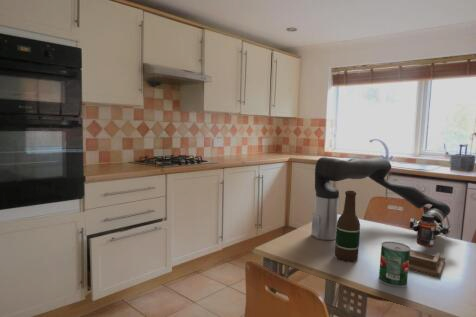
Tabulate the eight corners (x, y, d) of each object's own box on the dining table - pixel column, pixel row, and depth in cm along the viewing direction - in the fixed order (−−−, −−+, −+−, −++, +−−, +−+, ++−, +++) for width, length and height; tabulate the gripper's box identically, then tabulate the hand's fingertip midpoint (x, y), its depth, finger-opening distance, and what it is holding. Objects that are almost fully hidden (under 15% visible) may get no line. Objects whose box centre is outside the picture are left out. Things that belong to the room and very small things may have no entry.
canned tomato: (374, 274, 105) (377, 240, 104) (399, 275, 104) (402, 241, 103) (384, 286, 97) (388, 250, 96) (412, 287, 97) (415, 251, 95)
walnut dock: (439, 277, 104) (440, 265, 103) (391, 265, 112) (392, 253, 112) (444, 262, 116) (445, 251, 116) (401, 251, 125) (402, 241, 124)
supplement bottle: (437, 248, 121) (440, 218, 120) (419, 246, 122) (422, 217, 121) (430, 242, 127) (433, 214, 125) (414, 241, 128) (416, 212, 127)
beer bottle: (357, 255, 119) (362, 190, 117) (357, 264, 112) (363, 194, 110) (335, 252, 122) (339, 188, 119) (334, 260, 115) (338, 192, 112)
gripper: (413, 208, 139) (405, 217, 126) (453, 215, 130) (449, 225, 117) (411, 226, 140) (403, 236, 126) (452, 233, 131) (447, 245, 118)
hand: (425, 230), depth 122 cm, fingers closed on supplement bottle, 6 cm apart
